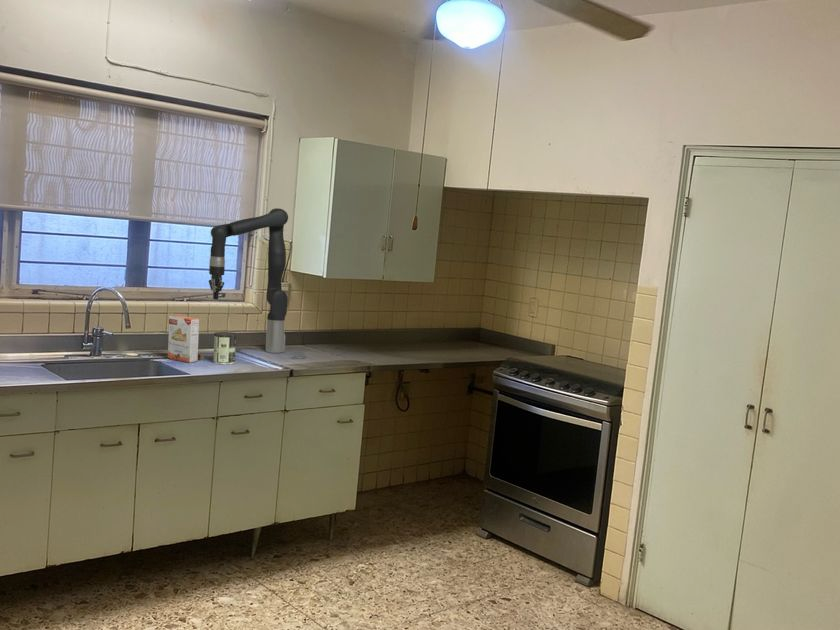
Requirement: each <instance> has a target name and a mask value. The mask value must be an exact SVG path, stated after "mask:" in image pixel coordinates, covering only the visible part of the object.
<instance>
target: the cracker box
mask: <svg viewBox="0 0 840 630" xmlns="http://www.w3.org/2000/svg"><path fill="white" fill-rule="evenodd" d="M168 318H169V319H168V342H167V345H168V346H167V359H168V358H170V359H169V360H172V359H174V361H177V360H178V361H179V362H182V363H187V364H191V363H196V362H198V353H199V337H200V335H199V333H200V318H196V317H189V316H184V315H180V314H179V315H177V314H176V315H169V317H168Z"/></svg>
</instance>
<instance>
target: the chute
mask: <svg viewBox="0 0 840 630" xmlns="http://www.w3.org/2000/svg"><path fill="white" fill-rule="evenodd" d="M198 359H199V361H203V360H204V354H202V353H199V352H198Z"/></svg>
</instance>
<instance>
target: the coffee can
mask: <svg viewBox="0 0 840 630" xmlns="http://www.w3.org/2000/svg"><path fill="white" fill-rule="evenodd" d="M213 335H214V336H213V337H214V339H213V343H214V344H213V364H217V365H233V364H235V363H236V341H237V333H235V332H229V331H218V332H214V333H213Z"/></svg>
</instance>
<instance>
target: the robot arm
mask: <svg viewBox="0 0 840 630" xmlns="http://www.w3.org/2000/svg"><path fill="white" fill-rule="evenodd" d="M288 221H289V215H288V213H287V211H285V209H282V208H272V209H271V210H270V211H269V212H268V213H266V214H263V215H260V216H256V217H249V218H243V219H240V220H236V221H232V222H229V223H226V224H220V225H214V226H213V227H212V228H211V230H210V235H211V238H212V239H211V240H212V242H211V245H210V254H209V255H210V257H209V269H208V273H209V275H211V276H210V279H209V280H208V283H209V288H210V290H211V291H212V298H213V299H212V300H216V301H217V300H219V293H220V292H222V290H223V288H224V285H225V282H223V276H224V275H225V271H226V269H225V267H226V266H225V265H226V259H225V256H226V255H225V253H226V241H227V238H228V237H236V236H240V235H244V234H247V233H251V232H254V231H257V230H260V229H266V228H268V234H269V235H268V246H267V247H268V249H267V270H268V271H267V279H268V280H267V288H266V297H265V298H266V302H267V303H268V304H269V305H270V306H269V312H268V313H267V316H266V331H265V332H266V335H265V352H266V353H270V354H273V353H274V354H282V353H285V352H286V339H287V338H286V335H287V334H286V333H285V324H286V323H285V322H286V316H287V313H288V303H289V302H288V301H289V300H288V294H287V293H286V292H285V291H284V290H282V289H283V288H282V281H283V275H284V272H285V268H286V265H287V251H286V244H285V240H284V226H285V225H286V224H287V223H288Z"/></svg>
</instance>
